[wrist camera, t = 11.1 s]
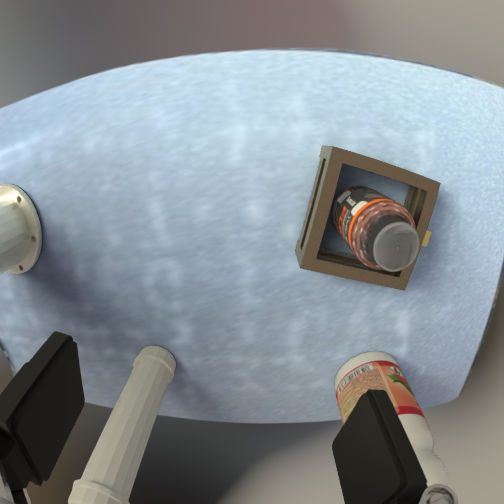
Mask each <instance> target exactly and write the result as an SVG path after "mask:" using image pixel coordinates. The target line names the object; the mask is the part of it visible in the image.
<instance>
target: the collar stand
mask: <svg viewBox="0 0 504 504" xmlns="http://www.w3.org/2000/svg"><path fill="white" fill-rule="evenodd" d="M319 157H321V158H320V162H319V166H318V171H317V175H316V178H315V182H314V186H313V190H312V194H311V198H310V202H309V206H308V209H307V213H306V217H305V221H304V225H303V228H302V232H301V236H300V239H299V240H298V241H297V245H296V249H295V252H296V256H297V259H298V263H299V266H300V268H302V269H306V270H311V271H315V272H320V273H325V274H330V275H334V276H339V277H344V278H348V279H353V280H358V281H362V282H367V283H372V284H377V285H381V286H386V287H391V288H396V289H400V290H405V288H406V286H407V283H408V281H409V278H410V275H411V273H412V270H413V268H414V265H415V262H416V259H417V257H418V254H419V252H418V254H417V256H416V258H415V260H414V261H413V262H412V263H411V264H410V265H409V266H408V267H407V268H405V269H403V270H401V271H396V272H390V271H386V270H384V269H374V268H371V267H368V266H366V265H365V264H363V263H362V262H361V261H360V260H359V259H358V258H357V257H356V255H352V254H347V253H343V252H339V251H334V250H330V249H326V248H321V247H320V243H321V240H322V237H323V233H324V230H325V226H326V223H327V219H328V215H329V212H330V208H331V205H332V201H333V197H334V193H335V190H336V186H337V182H338V178H339V174H340V171H341V167H342V163H343V164H347V165H350V166H353V167H357V168H360V169H363V170H366V171H370V172H373V173H376V174H379V175H382V176H385V177H388V178H391V179H394V180H397V181H400V182H403V183H406V184H409V185H410V186H409V189H408V193H407V197H406V200H405V203H404V208H405V209H406V210H407V211H408V212H409V213H410V214H411V216H412V218H413V220H414V223H415V227H416V231H417V233H418V236H419V239H420V248H421V246H425V247H427V245H428V242H429V239H430V236H431V233H432V232H431V231H429V230H427V227H428V224H429V221H430V218H431V215H432V211H433V208H434V205H435V201H436V198H437V194H438V191H439V187H440V183H439V182H437V181H434V180H432V179H429V178H426V177H424V176H421V175H419V174H416V173H413V172H410V171H408V170H405V169H402V168H399V167H396V166H394V165H391V164H388V163H385V162H382V161H379V160H376V159H373V158H370V157H367V156H363V155H360V154H357V153H354V152H351V151H347V150H344V149H340V148H337V147H334V146H322V148H321V152H320V156H319ZM420 248H419V251H420Z"/></svg>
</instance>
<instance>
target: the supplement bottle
mask: <svg viewBox="0 0 504 504" xmlns="http://www.w3.org/2000/svg"><path fill="white" fill-rule="evenodd" d="M332 219H333V223H334V226H335V228H336V230H337V231H338V233H339V234H340V236H341V237H342V238H343V239H344V241H345V242H346V243H347V245H348V246H349V247H350V249H351V250H352V252H353V253H354V254H355V255H356V257H357V258H358V259H359V260H360V261H361V262H362V263H363V264H365V265H366V266H368V267H371V268H374V269H384V270H386V271H390V272H396V271H401V270H403V269H405V268H407V267H408V266H409V265H410V264H411V263H412V262H413V261H414V260H415V258H416V256H417V254H418V252H419V248H420V239H419V236H418V233H417V231H416V227H415V223H414V220H413V218H412V216H411V214H410V213H409V212H408V211H407V210H406V209H405V208H404V207H403V206H402V205H400V204H399V203H397V202H395V201H394V200H392V199H390V198H388V197H386V196H384V195H382V194H380V193H378V192H377V191H375V190H373V189H371V188H368V187H364V186H355V187H351V188H349V189H347V190H345V191H344V192H342V193H341V194H340V195H339V196H338V198H337V199H336V201H335V203H334V206H333V210H332Z"/></svg>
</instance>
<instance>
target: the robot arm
mask: <svg viewBox="0 0 504 504" xmlns="http://www.w3.org/2000/svg"><path fill="white" fill-rule="evenodd" d="M41 245H42V233H41V225H40V221H39V217H38V214H37V212H36V209H35V207H34V205H33V203H32V201H31V200H30V198H29V197H28V196H27V194H26V193H25V192H24V191H23V190H22V189H20V188H19V187H17V186H15V185H12V184H2V185H0V275H1V274H2V273H4V272H5V271H7V272H9V273H13V274H21V273H24V272H26V271H28V270H29V269H31V268H32V267H33V266H34V265H35V263H36V262H37V260H38V258H39V255H40V251H41ZM84 402H85V398H84V392H83V386H82V379H81V373H80V365H79V357H78V349H77V343H76V342H73V338H72V337H71V336H69V335H66V334H63V333H60V332H57V331H56V332H54V333H53V334H52V335H51V336H50V337H49V338H48V340H47V341H46V342H45V343H44V344H43V345H42V347H41V348H40V349H39V350H38V351H37V353H36V354H35V355H34V356H33V358H32V359H31V360H30V361H29V362H27V363H25V364H24V365H23V367H22V368H21V369H20V370H19V372H18V373H17V374H16V375H15V377H14V378H13V379H12V381H11V382H10V383H9V384H8V386H7V387H6V388H5V389H4V391H3V392H2V393H1V395H0V504H31V502H30V500H29V497H28V494H27V491H26V487H27V485H28V483H29V481H31V482H33V483H35V484H37V485H39V486H41V484H42V482H43V480H44V481H47V480H48V479H49V477H50V475H51V473H52V471H53V468H54V466H55V464H56V462H57V460H58V458H59V455H60V453H61V451H62V449H63V447H64V445H65V443H66V441H67V439H68V437H69V435H70V433H71V431H72V429H73V427H74V425H75V423H76V420H77V419H78V417H79V415H80V413H81V411H82V408H83V406H84ZM332 449H333V455H334V459H335V463H336V467H337V471H338V475H339V480H340V484H341V488H342V492H343V496H344V501H345V504H458V499H457V496H456V494H455V493H454V491H453V490H452V489H450V488H449V487H447V486H446V485H442V484H433V485H430V486H429V487H428V486H427V482H428V481H427V479H426V476H425V474H424V472H423V470H422V467H421V465H420V463H419V460H418V458H417V456H416V454H415V451H414V449H413V447H412V445H411V443H410V440H409V438H408V436H407V434H406V432H405V429H404V427H403V425H402V423H401V421H400V419H399V417H398V415H397V412H396V410H395V408H394V406H393V404H392V402H391V400H390V398H389V396H388V394H387V392H386V391H385V390H377V389H369V390H367V391H366V393H363V394H362V395H361V396H360V398H359V400H358V402H357V403H356V405H355V407H354V408H353V410H352V412H351V414H350V415H349V417H348V419H347V420H346V422H345V423H344V425H343V427H342V428H341V430H340V432H339V433H338V435H337V436H336V438H335V439H334V441H333V445H332Z"/></svg>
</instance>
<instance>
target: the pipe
mask: <svg viewBox="0 0 504 504" xmlns="http://www.w3.org/2000/svg"><path fill="white" fill-rule="evenodd" d="M175 369H176V362H175V359H174V357H173V355H172V354H171V353H170V352H169V351H167V350H166V349H164V348H162V347H159V346H154V345H152V346H147V347H145V348H144V349H142V350H141V351H140V353H139V355H138V356H137V357H136V358H135V360H134V363H133V371H132V373H131V375H130V377H129V379H128V381H127V383H126V385H125V387H124V389H123V391H122V393H121V395H120V397H119V399H118V401H117V403H116V405H115V407H114V409H113V411H112V413H111V415H110V417H109V419H108V421H107V423H106V426H105V428H104V430H103V432H102V434H101V436H100V438H99V440H98V443H97V444H96V447H95V449H94V451H93V453H92V455H91V457H90V460H89V462H88V464H87V466H86V468H85V471H84V473H83V475H82V477H81V479H80V480H75V482H74V484H73V490H72V492H71V495H70V497H69V499H68V504H129V502H128V499H129V496H130V492H131V490H132V487H133V483H134V480H135V477H136V474H137V471H138V468H139V465H140V462H141V459H142V456H143V453H144V450H145V447H146V445H147V442H148V439H149V436H150V433H151V430H152V427H153V424H154V421H155V418H156V416H157V413H158V410H159V407H160V404H161V401H162V399H163V396H164V393H165V390H166V387H167V385H169V384H170V383H171V381H172V380H173V377H174V371H175Z"/></svg>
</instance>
